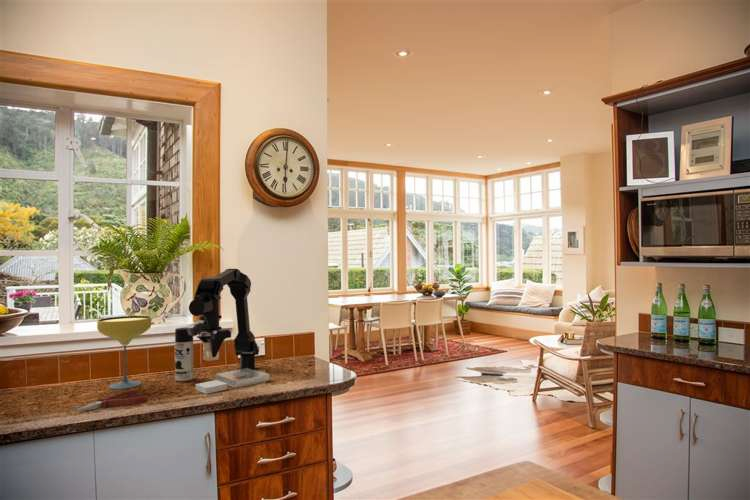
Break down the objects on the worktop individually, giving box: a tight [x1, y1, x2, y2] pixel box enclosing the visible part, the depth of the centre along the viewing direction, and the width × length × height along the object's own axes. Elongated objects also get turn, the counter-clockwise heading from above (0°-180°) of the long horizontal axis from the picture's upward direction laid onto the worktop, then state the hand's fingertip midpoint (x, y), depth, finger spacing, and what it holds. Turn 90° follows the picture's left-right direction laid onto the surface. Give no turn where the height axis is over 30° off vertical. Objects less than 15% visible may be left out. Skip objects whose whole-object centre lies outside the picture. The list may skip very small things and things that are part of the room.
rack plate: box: [214, 368, 270, 389], centre depth 185 cm, size 16×14×3 cm
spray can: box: [174, 326, 194, 382], centre depth 188 cm, size 7×7×20 cm
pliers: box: [72, 390, 148, 412], centre depth 155 cm, size 12×20×3 cm, turn 135°
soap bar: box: [195, 379, 228, 395], centre depth 172 cm, size 8×8×2 cm
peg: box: [202, 342, 220, 362], centre depth 173 cm, size 4×4×6 cm
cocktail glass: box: [96, 315, 152, 390], centre depth 180 cm, size 18×18×25 cm
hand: (211, 356), depth 173 cm, fingers closed on peg, 4 cm apart
